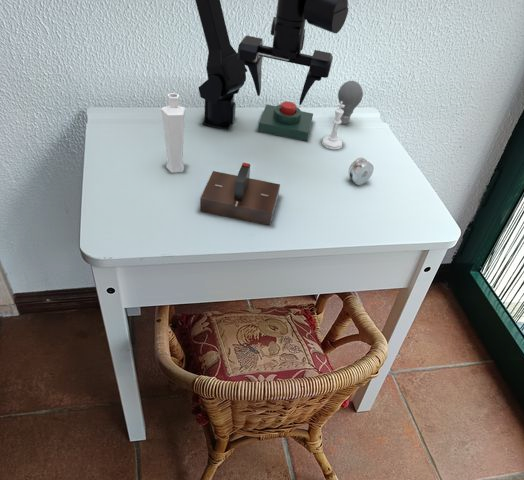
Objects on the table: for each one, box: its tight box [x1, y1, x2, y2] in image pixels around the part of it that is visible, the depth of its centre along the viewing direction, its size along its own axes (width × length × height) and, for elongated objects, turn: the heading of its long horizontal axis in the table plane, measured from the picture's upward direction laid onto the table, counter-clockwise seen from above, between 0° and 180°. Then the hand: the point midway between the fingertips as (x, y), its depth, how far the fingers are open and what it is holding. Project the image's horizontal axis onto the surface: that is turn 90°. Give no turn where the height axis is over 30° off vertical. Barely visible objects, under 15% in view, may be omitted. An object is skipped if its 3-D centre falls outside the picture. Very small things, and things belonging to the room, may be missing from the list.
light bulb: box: [337, 80, 364, 125], centre depth 121 cm, size 6×6×10 cm
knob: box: [234, 161, 251, 201], centre depth 94 cm, size 6×2×4 cm, turn 169°
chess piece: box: [321, 102, 345, 150], centre depth 113 cm, size 5×5×10 cm
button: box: [280, 101, 297, 115], centre depth 117 cm, size 4×4×2 cm
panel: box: [199, 170, 281, 226], centre depth 97 cm, size 14×11×3 cm
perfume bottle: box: [161, 92, 186, 174], centre depth 98 cm, size 5×4×15 cm
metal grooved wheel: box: [347, 157, 374, 186], centre depth 106 cm, size 5×3×5 cm, turn 123°
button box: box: [257, 103, 314, 142], centre depth 119 cm, size 12×10×4 cm
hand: (279, 99), depth 105 cm, fingers open, 9 cm apart
